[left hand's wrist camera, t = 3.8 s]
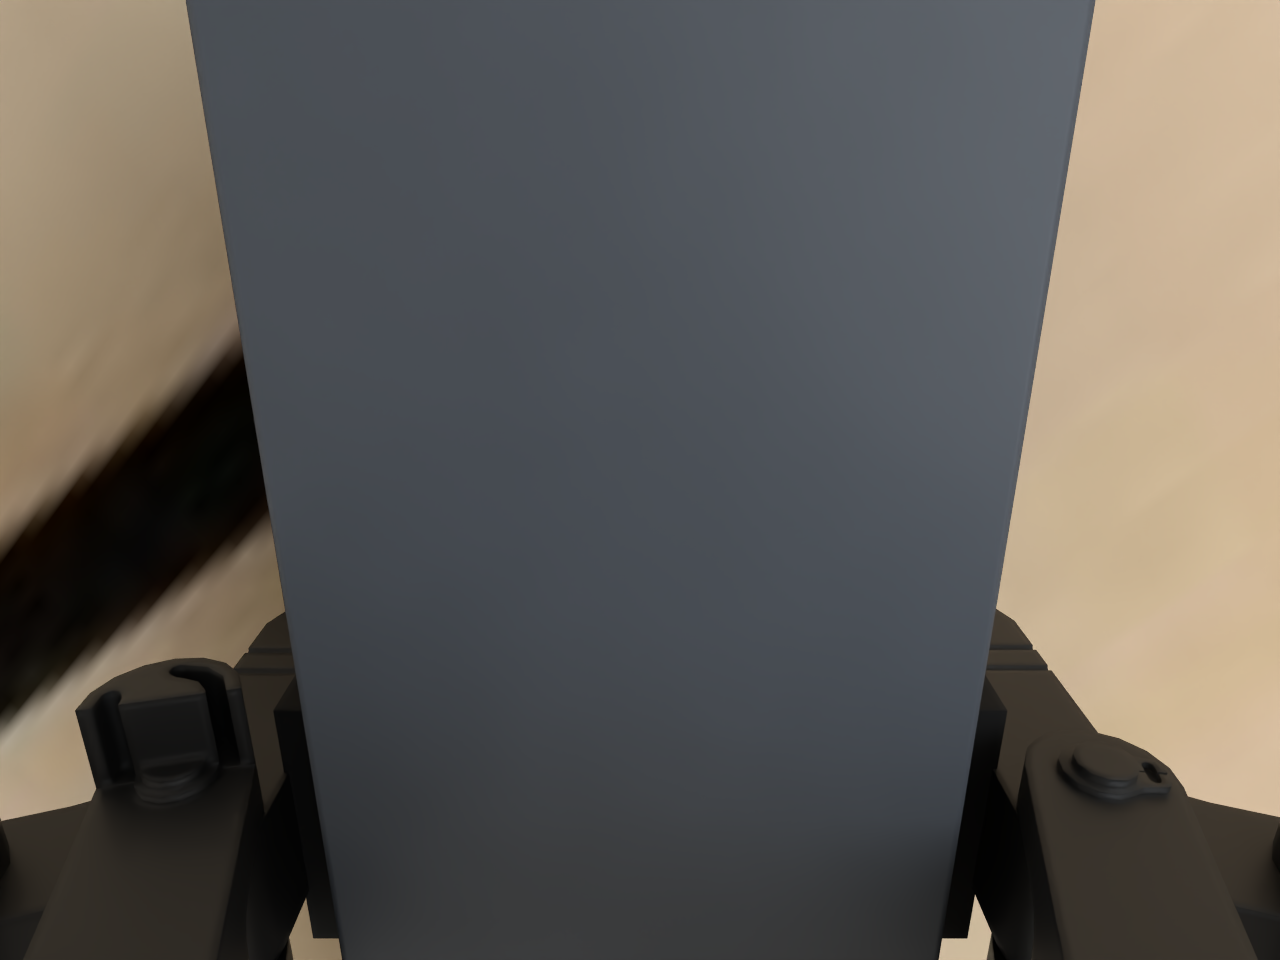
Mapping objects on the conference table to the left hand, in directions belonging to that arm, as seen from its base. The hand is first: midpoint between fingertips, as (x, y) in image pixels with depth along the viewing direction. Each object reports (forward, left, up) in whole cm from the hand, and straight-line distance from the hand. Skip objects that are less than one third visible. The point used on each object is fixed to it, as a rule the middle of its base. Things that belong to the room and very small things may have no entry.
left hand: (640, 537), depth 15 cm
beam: (+24, 0, -1) cm, 24 cm away
